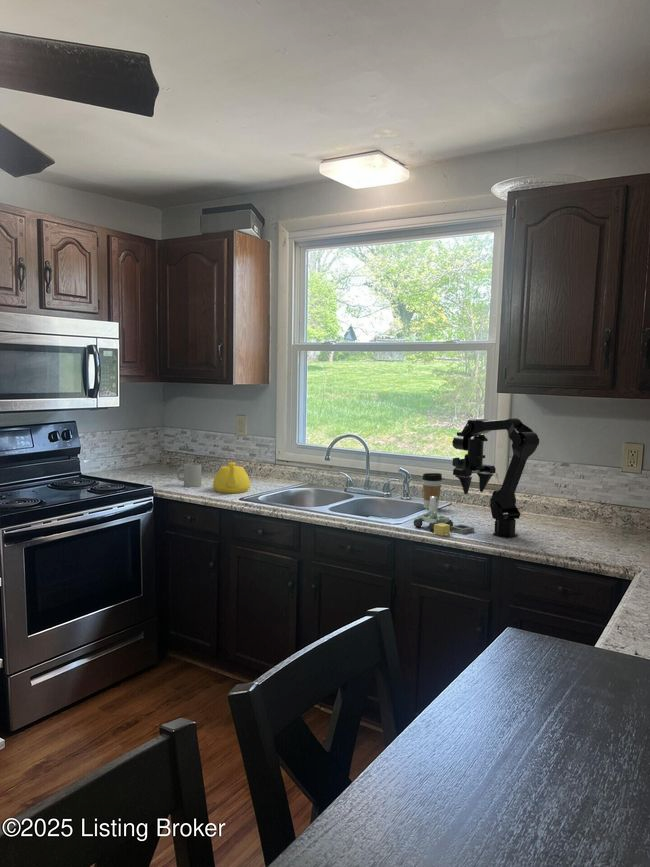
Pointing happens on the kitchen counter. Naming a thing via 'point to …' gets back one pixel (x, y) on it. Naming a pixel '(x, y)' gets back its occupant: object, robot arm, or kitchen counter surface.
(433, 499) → the pin
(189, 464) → the mug
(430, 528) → the trolley
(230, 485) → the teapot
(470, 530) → the socket
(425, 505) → the coffee cup
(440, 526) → the block
